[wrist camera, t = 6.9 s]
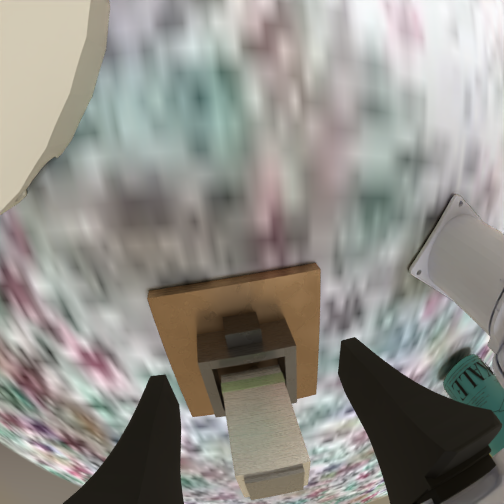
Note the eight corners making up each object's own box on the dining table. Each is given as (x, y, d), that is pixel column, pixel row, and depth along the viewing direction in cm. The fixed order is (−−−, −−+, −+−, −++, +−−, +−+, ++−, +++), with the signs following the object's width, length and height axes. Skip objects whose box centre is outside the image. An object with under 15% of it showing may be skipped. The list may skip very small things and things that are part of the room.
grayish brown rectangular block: (219, 374, 20) (235, 482, 13) (279, 363, 20) (313, 466, 13) (229, 408, 22) (244, 502, 15) (281, 398, 22) (309, 489, 15)
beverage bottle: (454, 379, 35) (523, 477, 17) (427, 384, 33) (500, 497, 16) (479, 344, 33) (560, 442, 15) (453, 345, 31) (543, 460, 13)
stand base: (149, 290, 21) (141, 325, 18) (315, 262, 22) (336, 292, 19) (192, 409, 27) (193, 442, 24) (313, 386, 29) (325, 417, 25)
